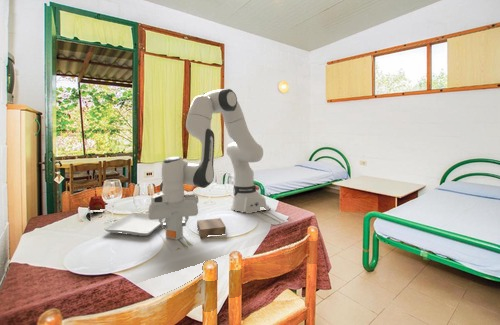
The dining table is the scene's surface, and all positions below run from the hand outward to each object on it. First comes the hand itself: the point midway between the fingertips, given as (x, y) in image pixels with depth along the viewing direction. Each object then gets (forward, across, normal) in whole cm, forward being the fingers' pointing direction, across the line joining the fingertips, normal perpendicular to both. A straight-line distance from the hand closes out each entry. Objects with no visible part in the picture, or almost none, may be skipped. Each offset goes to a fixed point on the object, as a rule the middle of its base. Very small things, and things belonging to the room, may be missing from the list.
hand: (174, 226), depth 110 cm
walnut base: (+5, -16, -1) cm, 17 cm away
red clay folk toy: (+5, +39, -45) cm, 59 cm away
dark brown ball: (+5, -1, -57) cm, 57 cm away
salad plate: (+5, +15, -15) cm, 22 cm away
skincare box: (+5, 0, 0) cm, 5 cm away
